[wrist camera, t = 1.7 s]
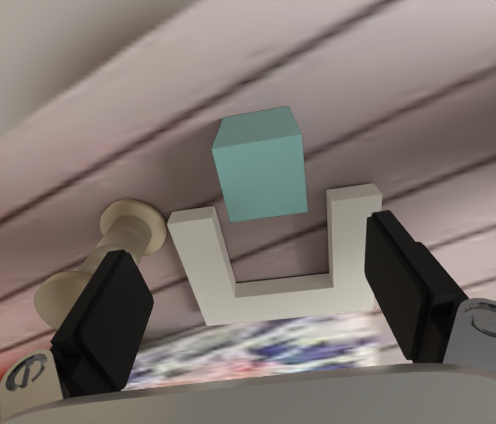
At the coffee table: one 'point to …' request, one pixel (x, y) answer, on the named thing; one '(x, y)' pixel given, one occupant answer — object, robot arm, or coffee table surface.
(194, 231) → the notched board
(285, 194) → the block
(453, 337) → the robot arm
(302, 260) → the coffee table surface
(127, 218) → the bobbin
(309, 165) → the coffee table surface
